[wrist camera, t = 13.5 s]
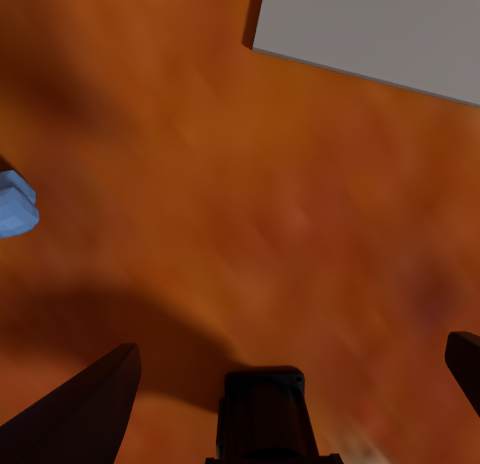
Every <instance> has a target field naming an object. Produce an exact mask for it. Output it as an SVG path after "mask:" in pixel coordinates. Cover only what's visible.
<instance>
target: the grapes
mask: <svg viewBox="0 0 480 464" xmlns="http://www.w3.org/2000/svg"><path fill="white" fill-rule="evenodd" d="M35 203H36V195H35V191H34V190H33V189H32V187H31V186H30V185H29V183H27V182H26V181H25V180H24V179H23V178H22V177H21V176H19V175H18V174H17V173H16V172H15V171H14V170H9V171H2V172H0V239H1V238H7V237H12V236H18V235H21V234H23V233H25V232H28V231H30V230H32V229H33V228H34V227H35V226H36V224H37V223H38V222H39V211H38V209H37V208H36V207H35V205H34V204H35Z"/></svg>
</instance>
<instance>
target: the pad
mask: <svg viewBox="0 0 480 464" xmlns="http://www.w3.org/2000/svg"><path fill="white" fill-rule="evenodd" d="M252 50H253V51H257V52H261V53H264V54H268V55H272V56H276V57H280V58H284V59H288V60H292V61H296V62H300V63H304V64H308V65H312V66H316V67H320V68H324V69H328V70H332V71H335V72H339V73H343V74H347V75H351V76H355V77H359V78H363V79H367V80H371V81H375V82H379V83H383V84H387V85H391V86H395V87H399V88H403V89H407V90H410V91H414V92H418V93H422V94H426V95H430V96H434V97H438V98H442V99H446V100H450V101H454V102H458V103H462V104H466V105H470V106H474V107H478V108H480V0H262V5H261V10H260V15H259V20H258V24H257V29H256V34H255V39H254V44H253V49H252Z"/></svg>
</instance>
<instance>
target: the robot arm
mask: <svg viewBox="0 0 480 464" xmlns="http://www.w3.org/2000/svg"><path fill="white" fill-rule="evenodd" d="M445 362H446V364H447V366H448V368H449V370H450V371H451V373H452V374H453V376H454V378H455V379H456V381H457V382H458V384H459V386H460V387H461V389H462V390H463V392H464V394H465V395H466V397H467V398H468V400H469V402H470V403H471V405H472V406H473V408H474V410H475V411H476V413H477V414H478V416H479V417H480V337H479V336H477V335H474V334H472V333H469V332H465V331H459V332H451V333H450V334H449V335H448V339H447V345H446V351H445ZM141 371H142V367H141V360H140V354H139V348H138V345H137V344H136V343H123V344H121V345H120V346H118V347H117V348H115V349H114V350H112V351H111V352H109V353H108V354H106V355H105V356H103V357H102V358H100V359H99V360H97V361H96V362H94V363H93V364H92V365H90V366H89V367H87V368H86V369H84V370H83V371H81V372H80V373H78V374H77V375H75V376H74V377H72V378H71V379H69V380H68V381H66V382H65V383H64V384H62V385H61V386H59V387H58V388H56V389H55V390H53V391H52V392H50V393H49V394H47V395H46V396H44V397H43V398H41V399H40V400H38V401H37V402H36V403H34V404H33V405H31V406H30V407H28V408H27V409H25V410H24V411H22V412H21V413H19V414H18V415H16V416H15V417H13V418H12V419H10V420H9V421H8V422H6V423H5V424H3V425H2V426H0V464H113V463H114V461H115V458H116V456H117V453H118V450H119V448H120V445H121V442H122V440H123V437H124V434H125V431H126V428H127V425H128V421H129V418H130V414H131V410H132V407H133V403H134V399H135V396H136V392H137V388H138V384H139V381H140V377H141ZM296 377H300V378H296ZM229 379H232V381H230V380H229ZM224 384H225V397H224V398H221V399H220V400H219V412H218V424H217V437H216V453H217V459H214V458H206V461H205V464H344V463H343V461H342V459H341V457H340V455H339V453H337V454H330V456H319V452H318V448H317V445H316V441H315V437H314V433H313V429H312V426H311V422H310V418H309V414H308V410H307V407H306V403H305V399H304V388H305V378H304V375H303V373H302V372H301V371H271V372H243V373H228V374H226V375H225V379H224Z"/></svg>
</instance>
